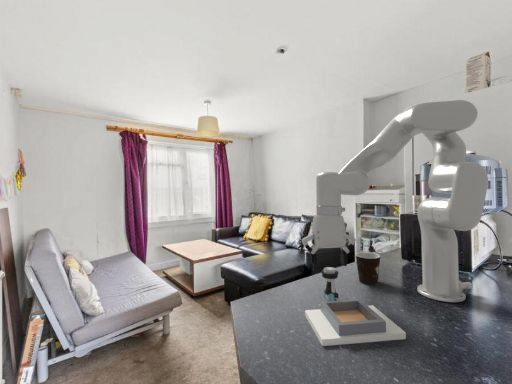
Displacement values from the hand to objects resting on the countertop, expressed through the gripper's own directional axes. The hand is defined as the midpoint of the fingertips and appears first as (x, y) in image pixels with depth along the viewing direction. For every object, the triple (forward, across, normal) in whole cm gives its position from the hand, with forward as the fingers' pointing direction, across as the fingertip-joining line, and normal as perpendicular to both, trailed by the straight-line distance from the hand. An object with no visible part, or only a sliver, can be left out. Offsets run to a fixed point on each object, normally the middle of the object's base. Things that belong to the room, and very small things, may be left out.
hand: (328, 265), depth 79 cm
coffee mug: (+11, -19, -13) cm, 26 cm away
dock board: (+11, 0, +15) cm, 19 cm away
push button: (+12, -1, 0) cm, 12 cm away
